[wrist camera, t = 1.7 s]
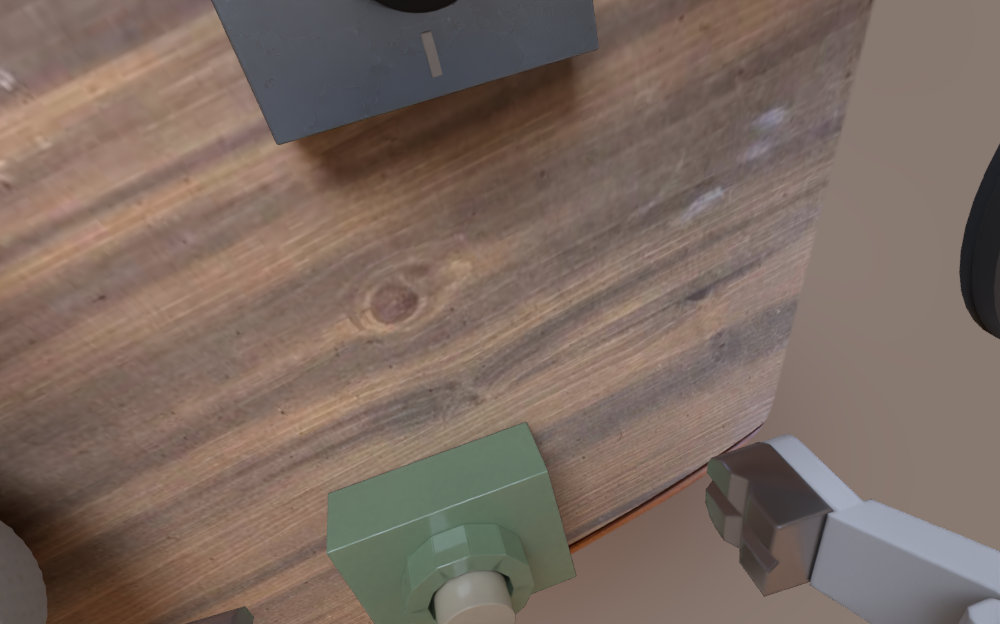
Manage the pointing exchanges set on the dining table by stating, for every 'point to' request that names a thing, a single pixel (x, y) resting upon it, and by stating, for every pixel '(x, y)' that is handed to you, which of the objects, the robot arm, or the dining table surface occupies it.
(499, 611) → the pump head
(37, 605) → the cereal bowl
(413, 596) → the push button base
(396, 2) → the lock dial
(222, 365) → the dining table surface
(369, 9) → the panel
